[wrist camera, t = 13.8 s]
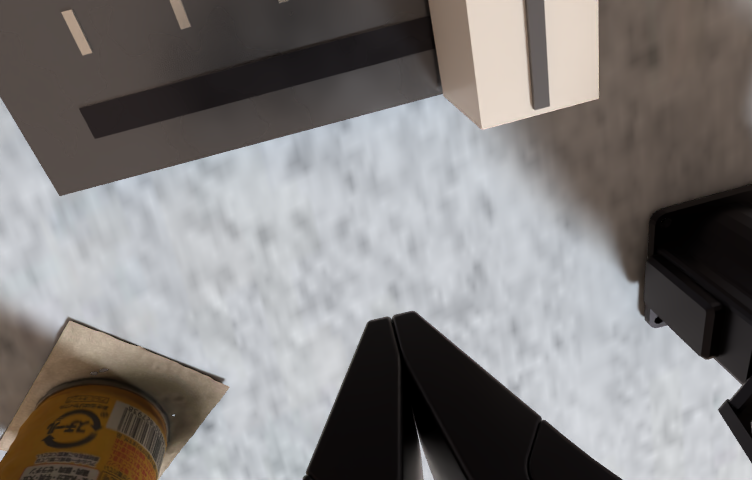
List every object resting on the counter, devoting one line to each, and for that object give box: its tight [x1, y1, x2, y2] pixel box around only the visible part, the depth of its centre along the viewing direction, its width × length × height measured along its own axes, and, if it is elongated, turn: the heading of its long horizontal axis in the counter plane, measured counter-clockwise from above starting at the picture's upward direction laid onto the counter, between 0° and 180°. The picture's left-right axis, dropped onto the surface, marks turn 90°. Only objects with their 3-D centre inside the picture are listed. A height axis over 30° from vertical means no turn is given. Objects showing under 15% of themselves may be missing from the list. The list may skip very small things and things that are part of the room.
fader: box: [428, 0, 599, 130], centre depth 14 cm, size 3×4×4 cm
